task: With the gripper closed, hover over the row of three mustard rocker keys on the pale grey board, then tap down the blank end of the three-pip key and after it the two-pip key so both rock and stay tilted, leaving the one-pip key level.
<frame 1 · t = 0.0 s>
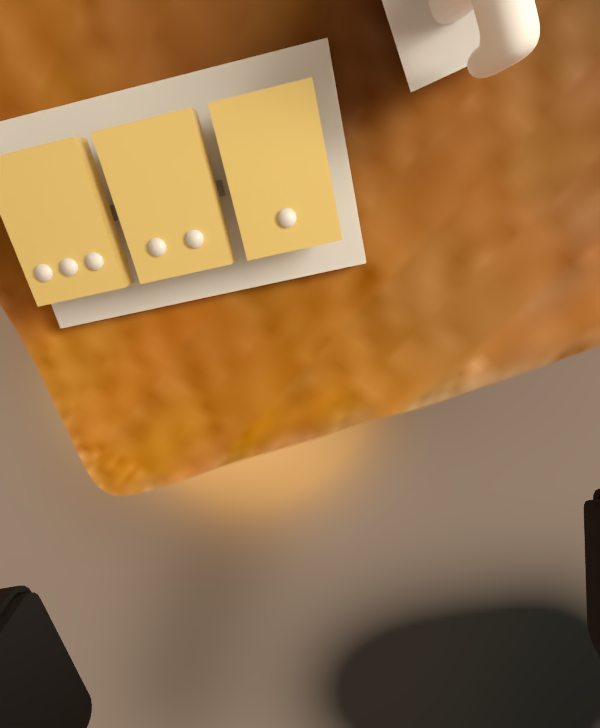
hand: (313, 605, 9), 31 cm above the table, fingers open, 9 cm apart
key 2: (167, 200, 31), point 5 cm above the table, hinge at 0.0°
key 3: (60, 225, 32), point 5 cm above the table, hinge at 0.0°
board: (186, 196, 36), on the table
key 1: (278, 174, 31), point 5 cm above the table, hinge at 0.0°
figurine: (435, 16, 32), on the table
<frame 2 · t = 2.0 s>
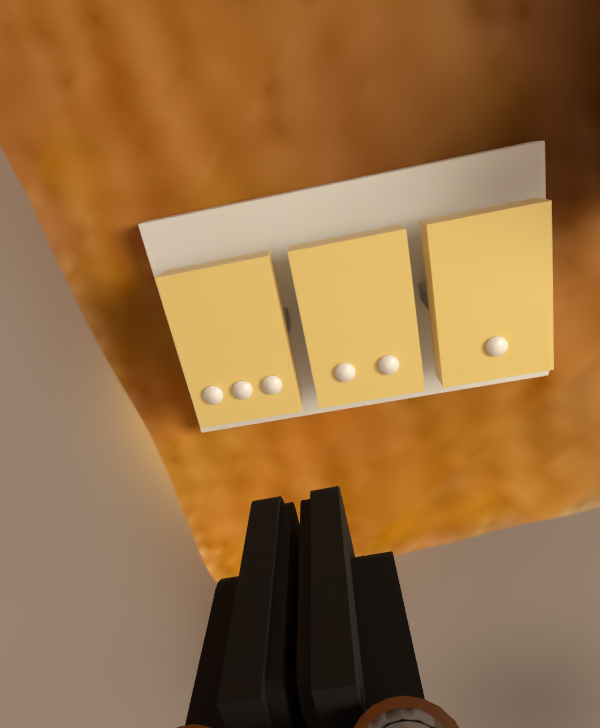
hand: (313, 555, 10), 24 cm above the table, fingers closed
key 2: (358, 320, 28), point 5 cm above the table, hinge at 0.0°
key 3: (234, 343, 29), point 5 cm above the table, hinge at 0.0°
board: (351, 296, 33), on the table
key 1: (488, 297, 27), point 5 cm above the table, hinge at 0.0°
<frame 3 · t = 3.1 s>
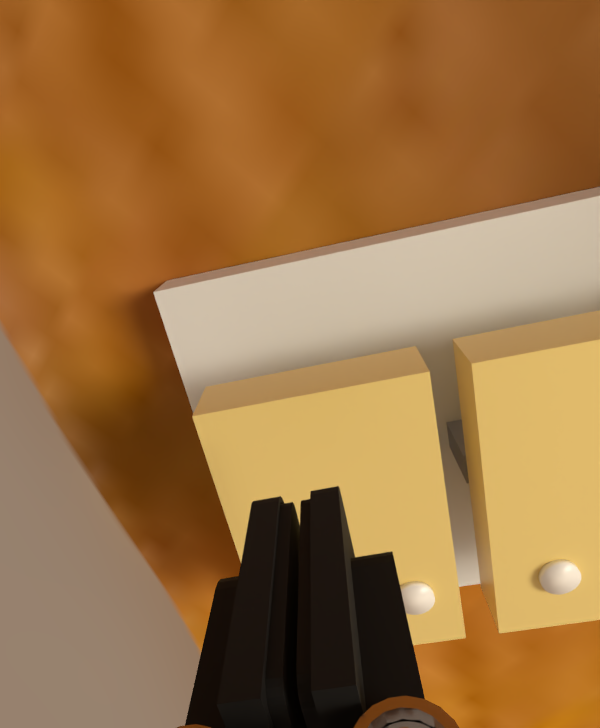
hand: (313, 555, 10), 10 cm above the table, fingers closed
key 2: (586, 478, 14), point 5 cm above the table, hinge at 0.0°
key 3: (340, 518, 15), point 5 cm above the table, hinge at 0.0°
board: (518, 398, 19), on the table
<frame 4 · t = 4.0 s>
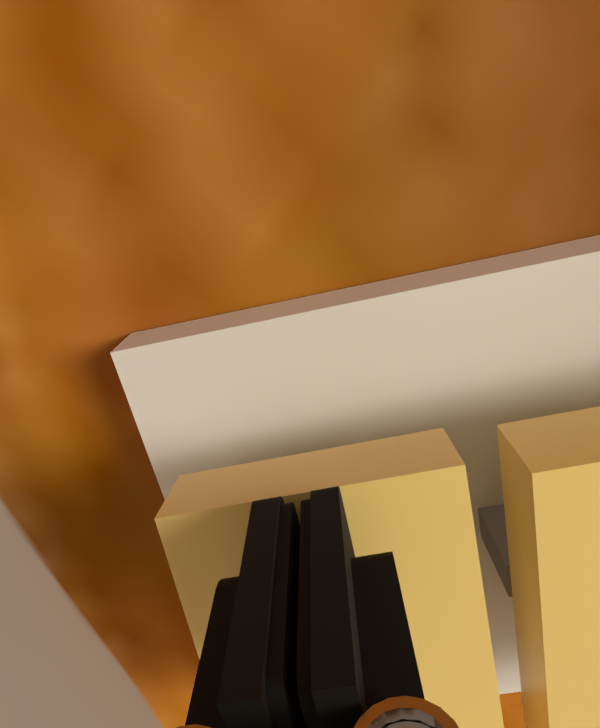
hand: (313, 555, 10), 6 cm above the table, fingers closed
key 3: (347, 652, 12), point 5 cm above the table, hinge at 6.3°, touching gripper
board: (562, 472, 16), on the table
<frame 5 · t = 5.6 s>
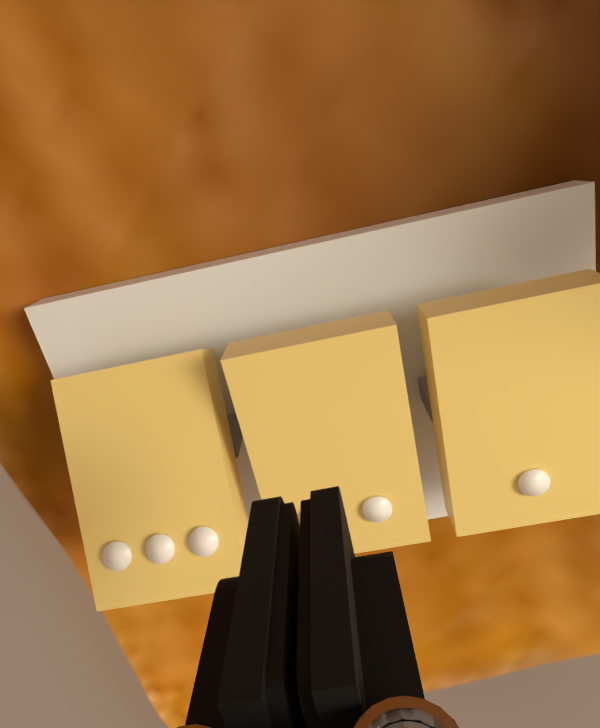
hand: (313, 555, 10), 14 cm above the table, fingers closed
key 2: (332, 445, 19), point 5 cm above the table, hinge at 0.0°
key 3: (156, 477, 20), point 5 cm above the table, hinge at 20.6°
board: (327, 390, 24), on the table
key 1: (520, 411, 19), point 5 cm above the table, hinge at 0.0°
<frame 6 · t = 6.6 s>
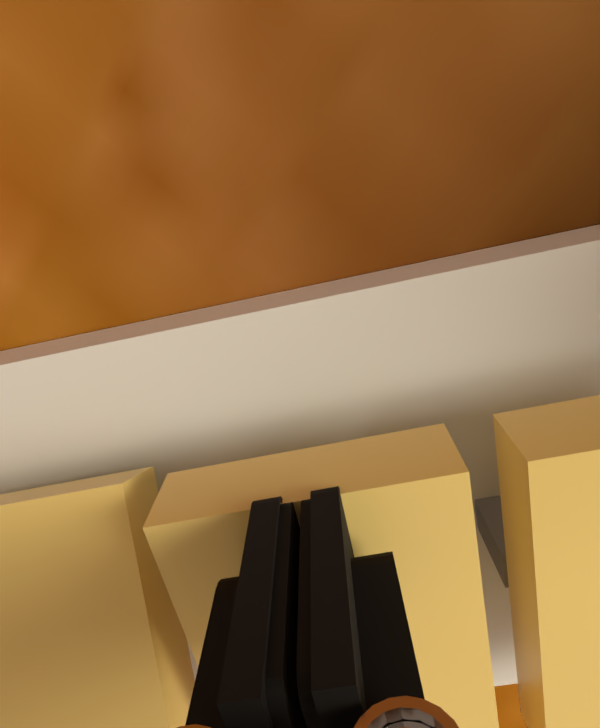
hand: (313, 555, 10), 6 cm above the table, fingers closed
key 2: (343, 642, 12), point 5 cm above the table, hinge at 0.0°, touching gripper
key 3: (53, 683, 12), point 5 cm above the table, hinge at 21.3°
board: (333, 503, 16), on the table
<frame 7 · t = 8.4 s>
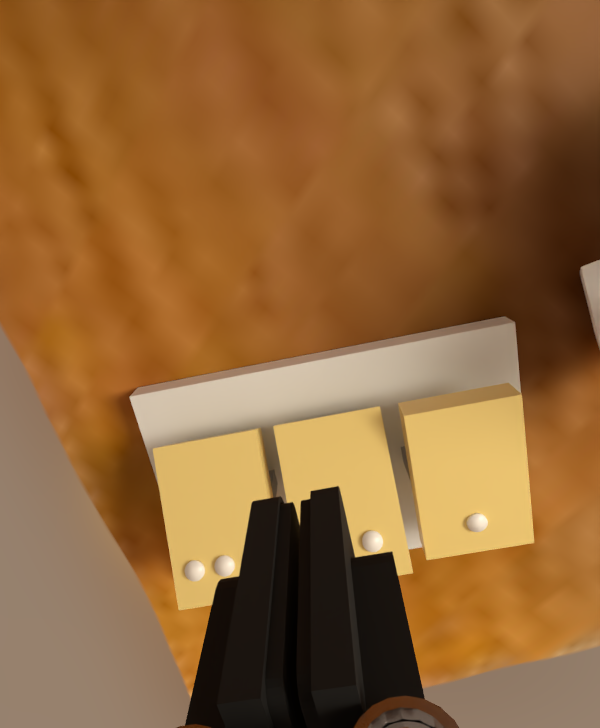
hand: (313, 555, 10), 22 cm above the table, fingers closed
key 2: (341, 495, 29), point 5 cm above the table, hinge at 22.1°
key 3: (220, 516, 29), point 5 cm above the table, hinge at 21.4°
board: (336, 453, 34), on the table
key 1: (467, 474, 28), point 5 cm above the table, hinge at 0.0°
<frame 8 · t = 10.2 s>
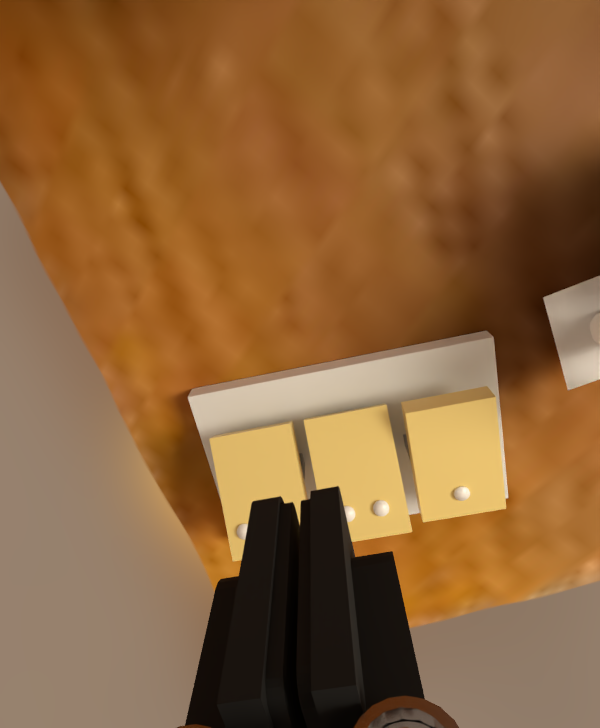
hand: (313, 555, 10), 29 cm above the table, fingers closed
key 2: (357, 473, 37), point 5 cm above the table, hinge at 22.9°
key 3: (262, 490, 38), point 5 cm above the table, hinge at 21.4°
board: (351, 439, 42), on the table
key 1: (454, 456, 36), point 5 cm above the table, hinge at 0.0°
figurine: (581, 310, 38), on the table
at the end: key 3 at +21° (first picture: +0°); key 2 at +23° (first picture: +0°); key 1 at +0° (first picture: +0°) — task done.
